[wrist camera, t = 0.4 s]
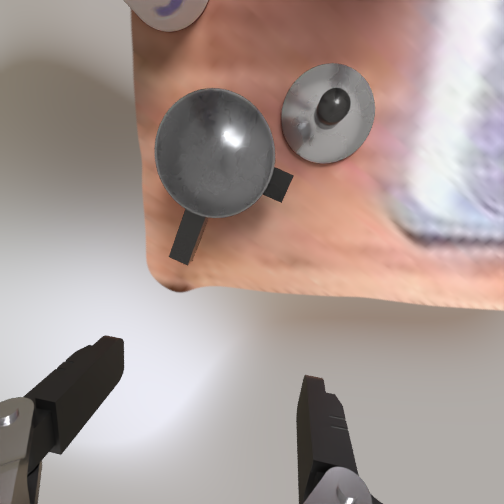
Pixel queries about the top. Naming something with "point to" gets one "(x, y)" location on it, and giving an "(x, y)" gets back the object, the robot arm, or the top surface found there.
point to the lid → (328, 113)
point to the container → (168, 12)
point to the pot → (215, 161)
